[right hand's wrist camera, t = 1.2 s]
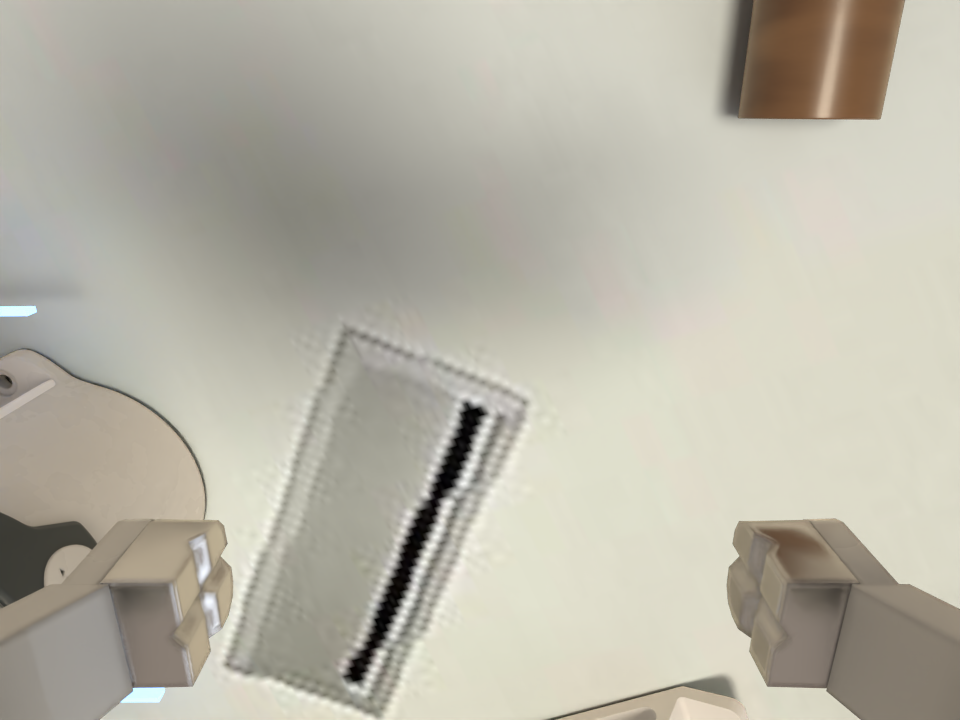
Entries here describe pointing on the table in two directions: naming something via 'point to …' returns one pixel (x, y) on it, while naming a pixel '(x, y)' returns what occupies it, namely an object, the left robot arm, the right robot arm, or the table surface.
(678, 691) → the tablet stand
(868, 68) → the rod
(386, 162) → the table surface
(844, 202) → the table surface
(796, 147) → the table surface
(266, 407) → the table surface
